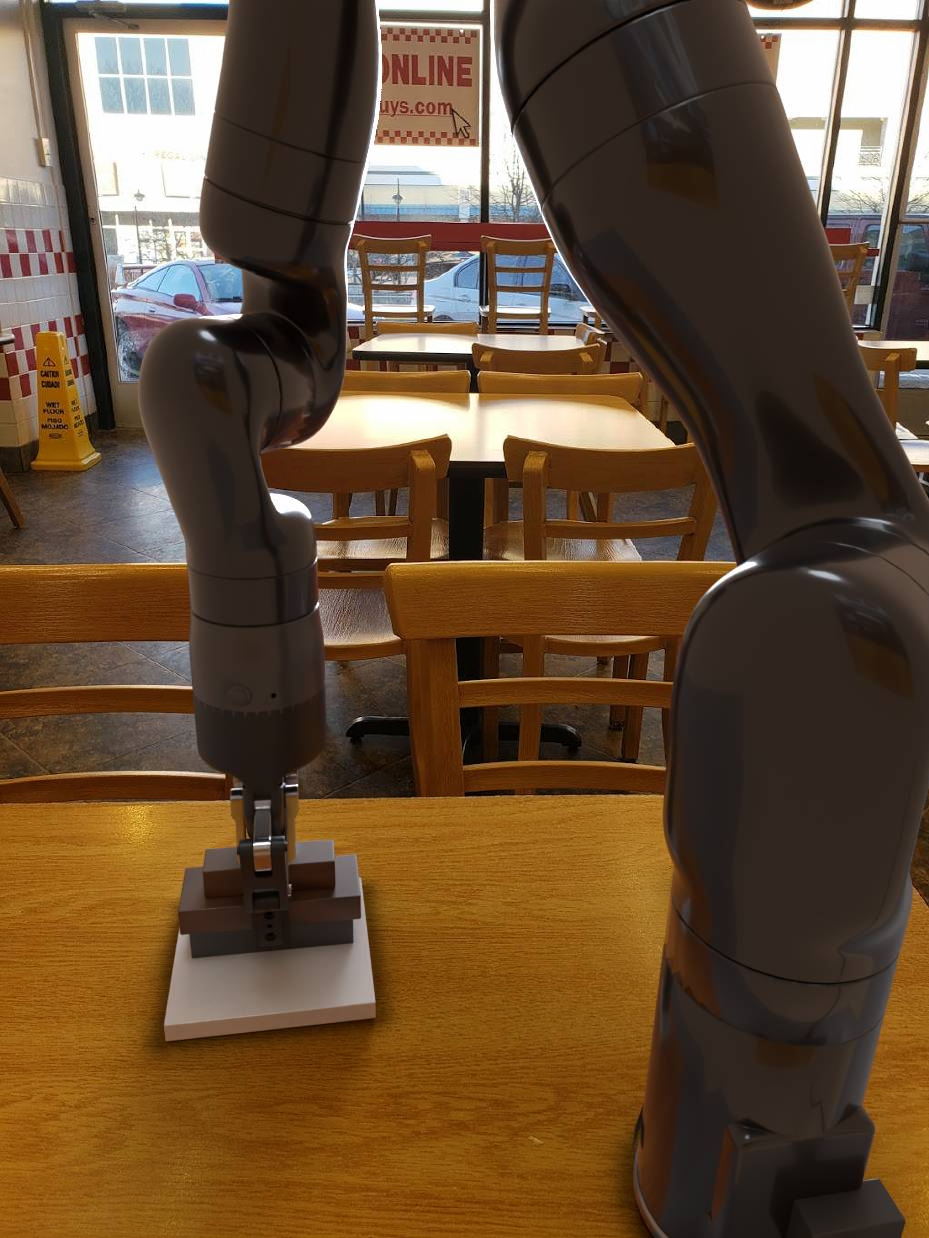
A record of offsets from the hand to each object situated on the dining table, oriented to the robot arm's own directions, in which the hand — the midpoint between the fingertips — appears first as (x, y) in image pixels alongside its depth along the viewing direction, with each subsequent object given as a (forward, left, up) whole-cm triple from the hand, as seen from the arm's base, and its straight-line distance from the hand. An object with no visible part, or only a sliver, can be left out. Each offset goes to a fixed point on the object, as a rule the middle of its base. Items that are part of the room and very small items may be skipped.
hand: (272, 916), depth 60 cm
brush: (0, 0, -1) cm, 1 cm away
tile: (-1, 0, -2) cm, 3 cm away
